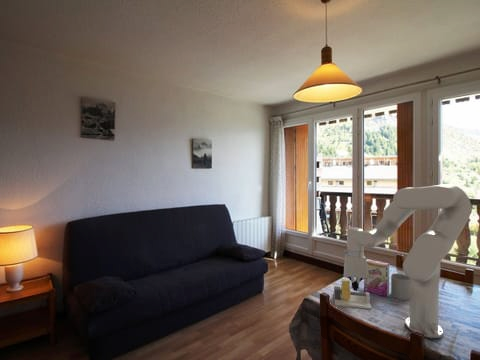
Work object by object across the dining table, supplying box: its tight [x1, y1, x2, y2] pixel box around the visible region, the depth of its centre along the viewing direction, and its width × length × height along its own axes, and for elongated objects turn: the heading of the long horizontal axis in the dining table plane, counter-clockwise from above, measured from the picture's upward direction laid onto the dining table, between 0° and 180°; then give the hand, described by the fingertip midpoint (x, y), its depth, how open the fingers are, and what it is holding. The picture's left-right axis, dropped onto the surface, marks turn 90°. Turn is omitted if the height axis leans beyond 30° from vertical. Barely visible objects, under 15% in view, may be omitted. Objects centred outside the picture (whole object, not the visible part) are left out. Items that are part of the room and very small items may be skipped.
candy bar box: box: [363, 258, 390, 298], centre depth 134 cm, size 11×5×16 cm, turn 47°
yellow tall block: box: [340, 279, 352, 299], centre depth 126 cm, size 4×4×8 cm
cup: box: [390, 273, 410, 301], centre depth 130 cm, size 8×8×10 cm
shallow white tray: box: [333, 285, 373, 310], centre depth 126 cm, size 11×16×6 cm
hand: (355, 289), depth 125 cm, fingers closed
